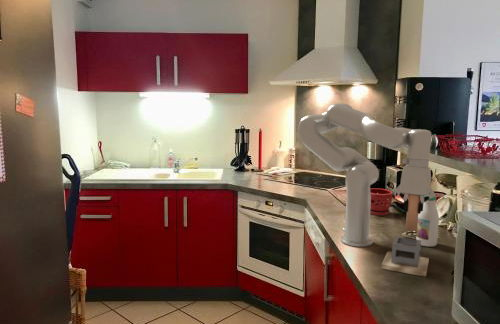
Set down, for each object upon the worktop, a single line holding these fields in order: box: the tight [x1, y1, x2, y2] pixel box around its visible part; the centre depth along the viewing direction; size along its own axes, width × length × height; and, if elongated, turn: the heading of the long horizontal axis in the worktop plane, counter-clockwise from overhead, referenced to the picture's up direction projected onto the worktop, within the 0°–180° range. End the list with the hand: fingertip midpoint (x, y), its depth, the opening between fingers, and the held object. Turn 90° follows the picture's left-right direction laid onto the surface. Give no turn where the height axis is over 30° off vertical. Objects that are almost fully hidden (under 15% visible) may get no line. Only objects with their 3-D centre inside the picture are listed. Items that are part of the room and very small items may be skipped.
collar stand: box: [380, 236, 430, 277], centre depth 139 cm, size 14×14×8 cm
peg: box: [404, 194, 420, 232], centre depth 149 cm, size 4×4×16 cm
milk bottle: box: [415, 193, 440, 247], centre depth 161 cm, size 8×8×20 cm
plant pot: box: [370, 187, 393, 216], centre depth 206 cm, size 13×13×12 cm
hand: (412, 211), depth 149 cm, fingers closed on peg, 4 cm apart
